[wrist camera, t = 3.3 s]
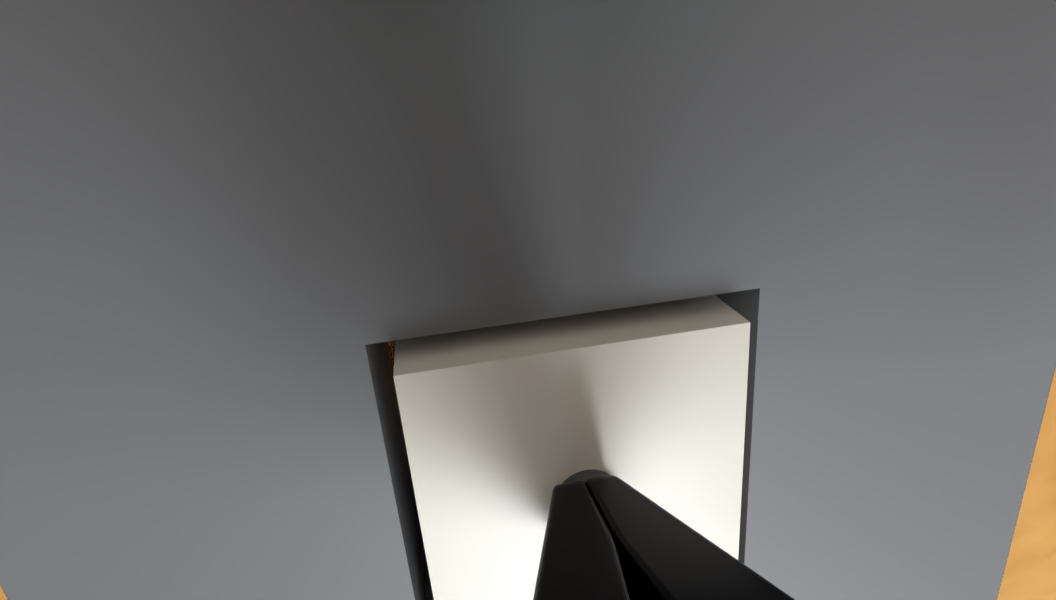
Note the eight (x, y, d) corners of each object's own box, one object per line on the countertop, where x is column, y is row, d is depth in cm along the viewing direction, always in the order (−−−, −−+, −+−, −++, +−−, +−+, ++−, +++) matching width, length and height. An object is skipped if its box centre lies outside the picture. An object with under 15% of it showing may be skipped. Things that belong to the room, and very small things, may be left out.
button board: (272, 909, 15) (245, 1066, 12) (-369, -690, 6) (-920, -1220, 3) (856, 762, 17) (927, 874, 14) (1082, -609, 8) (1379, -910, 5)
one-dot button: (437, 532, 11) (443, 661, 9) (398, 302, 10) (393, 382, 7) (674, 489, 12) (741, 599, 9) (674, 264, 10) (756, 327, 8)
